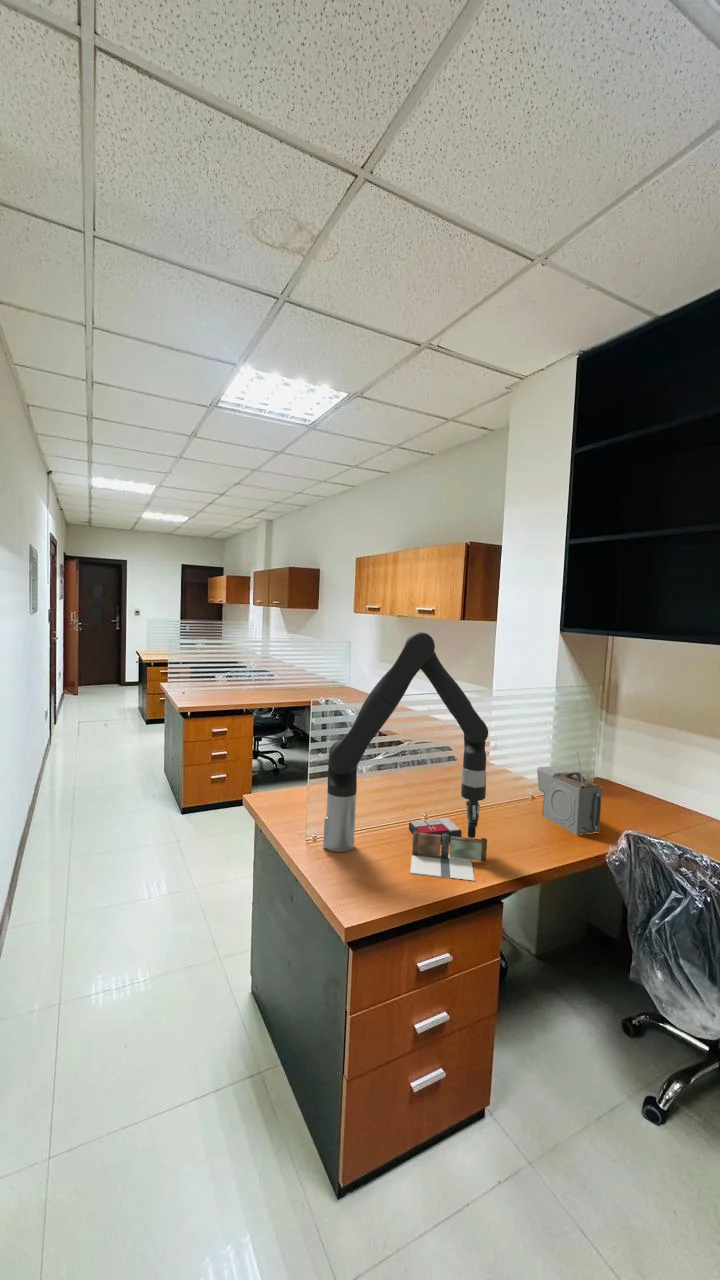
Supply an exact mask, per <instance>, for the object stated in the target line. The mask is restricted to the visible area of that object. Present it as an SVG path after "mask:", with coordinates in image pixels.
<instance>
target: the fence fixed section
mask: <svg viewBox="0 0 720 1280" xmlns="http://www.w3.org/2000/svg"><path fill="white" fill-rule="evenodd" d="M411 850H412V852H411V855H412V854H413V855H418V854H426V855H435V856H440V854H441V858H443V859H448V855H449V854H450V841H449V834H442V842H441V835H436V834H426V833H419V832H417V831H414V832H413V834H412V849H411Z"/></svg>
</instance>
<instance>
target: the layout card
mask: <svg viewBox="0 0 720 1280" xmlns="http://www.w3.org/2000/svg"><path fill="white" fill-rule="evenodd" d="M410 859H411V861H410V872H409V873H410V874H412V875H420V876H426V877H427V876H428V877H436V878H437V877H438V878H443V877H444V879H451V878H455V879H454V880H459V879H463V880H462V881H468V880H471V881H470V882H476V881H475V875H474V869H473V863H472V860H469V859H461V858H452V857H450V854H448V859H443V858H441V853H440V856H435V855H426V854H418V855H413V854H412V853H411V858H410Z"/></svg>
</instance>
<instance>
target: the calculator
mask: <svg viewBox="0 0 720 1280" xmlns="http://www.w3.org/2000/svg"><path fill="white" fill-rule="evenodd" d="M409 830H410V831H409ZM408 831H409V832H410V833H411V834H412V835H413V832H414V831H417V832H419V833H426V834H436V835H441V842H440V843H442V834H449V842H450V837H451V836H455V837H462V833H463V832H462V829H460V827H458V826H457V825H456V824H455V823H454V822H453V821H451V819H449V818H448V817H442V818H427V819H424V820H423V819H420V820H411V821H410V822H409V823H408Z"/></svg>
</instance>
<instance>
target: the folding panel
mask: <svg viewBox="0 0 720 1280" xmlns="http://www.w3.org/2000/svg"><path fill="white" fill-rule="evenodd" d="M487 848H488V838H484V837H482V838H469V837H462V836H461V837H455V836H451V837H450V841H449V855H450V857H452V858H461V859H469V860H471V861H479V862H483V863H485V862H486V861H487V850H488V849H487Z"/></svg>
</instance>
